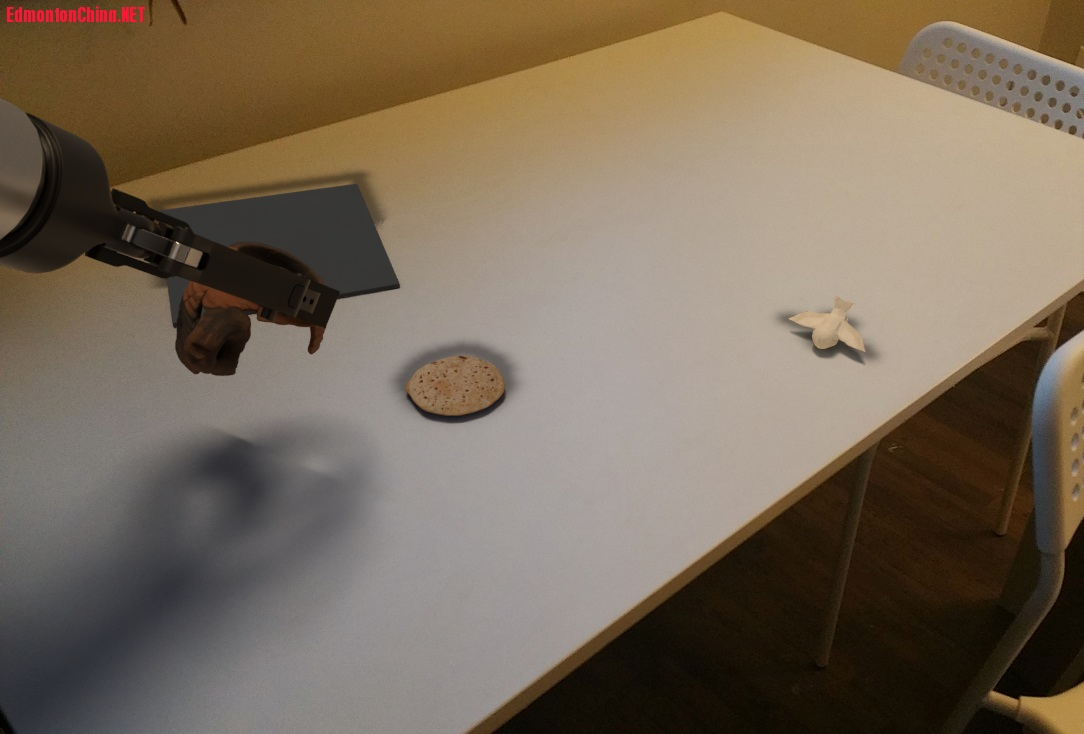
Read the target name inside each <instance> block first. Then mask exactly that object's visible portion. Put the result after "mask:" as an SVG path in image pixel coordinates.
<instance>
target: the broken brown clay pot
mask: <svg viewBox="0 0 1084 734" xmlns="http://www.w3.org/2000/svg"><path fill="white" fill-rule="evenodd" d="M229 248H231V249H234V250H236V251H239V252H241V253H244V254H246V255H249V256H251V257H254V258H256V259H259V260H261V261H264V262H266V263H269V264H271V265H276V266H279V267H282V268H285V269H288V270H289V271H291V272H294V273H296V274H297V273H300V274H302V275H305V276H306V278H309V279H311V280H313V281H316V282H318V283H320V284H323V285H325V283H324V281H323V280H322V278H321V277H320V276H319V275H318V274H317V273H315V272H314V270H313V269H312V268H310V267H309V266H308V265H307V264H306V263H304V262H302V261H301V260H300V259H298V258H297V257H295V256H293V255H291V254H289V253H288V252H285V251H284V250H281V249H278V248H276V247H273V246H270V245H266V244H263V243H257V242H238V243H234V244H232V245H230V247H229ZM325 286H326V285H325ZM179 308H180V309H179V311H178V318H177V327H176V337H175V342H174V349H175V352H176V356H177V358H178V360H179V361H180V363H181V365H184V367H185V368H186V369H187V370H188V371H190V373H192V374H194V375H199V374H200V373H202V374H205V375H209V374H211V376H216V377H229V376H234V375H235V374H236V373H237V368H238V365H239V361H240V357H241V354H242V353H243V352H244V350H245V349H246V345H247V343H248V342H249V340H250V338H251V337H252V336H251V335H252V331H251V330H252V320H251V318H250V316H249V314H246V313H245V312H244V311H256V312H257V313H256V321H258V322H262V323H271V324H275V325H278V326H295V327H298V328H309V330H310V337H309V342H308V346H307V352H308V354H309V355H311V356H312V355H313V354H315V353H316V352H318V351H319V349H320V347H321V343H322V342H323V340H324V334H325V331H326V329H327V327H326V328H323V327H320V326H317V325H314V324H311V323H308V322H306V321H303V320H300V319H297V318H294V317H290V316H289V317H286V316H283V315H281V313H279V312H277V315H276V317H275V320H274V322H273V321H270V320H267V319H265V318H262V317H260V314H261V312H262V309H263V307H262V306H259V305H258V304H256V303H253V302H250V301H247V300H244V299H242V298H239V297H236V296H233V295H230V294H227V293H224V292H222V291H219V290H216V289H213V288H210V287H207V286H204V285H202V284H199V283H196V282H193V281H189V283H188V286H187V287H186V289H185V290H184V294H183V296H182V298H181V303H180V305H179ZM202 308H204V309H205V312H204V314H203V315H202V316H201V313H202Z"/></svg>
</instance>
